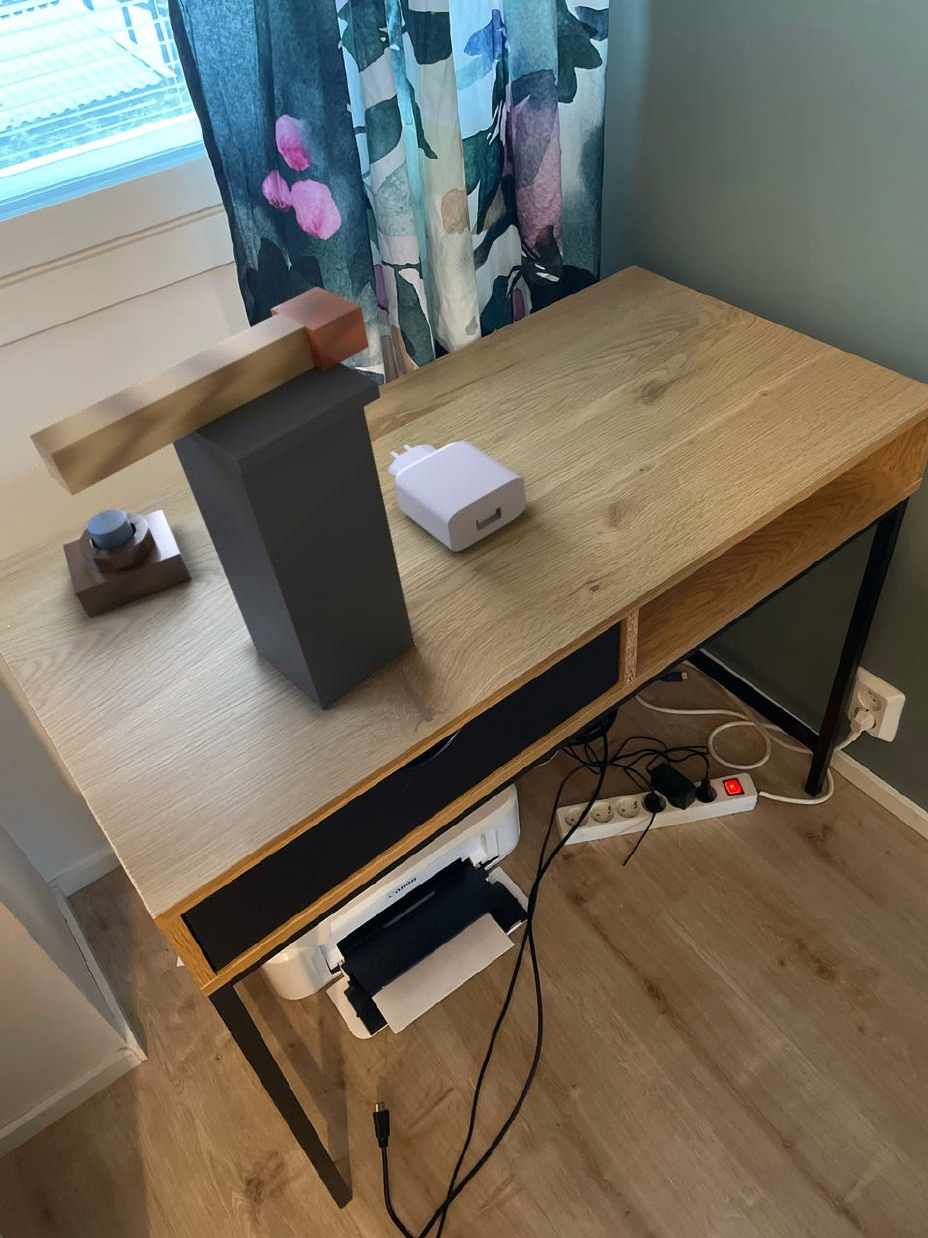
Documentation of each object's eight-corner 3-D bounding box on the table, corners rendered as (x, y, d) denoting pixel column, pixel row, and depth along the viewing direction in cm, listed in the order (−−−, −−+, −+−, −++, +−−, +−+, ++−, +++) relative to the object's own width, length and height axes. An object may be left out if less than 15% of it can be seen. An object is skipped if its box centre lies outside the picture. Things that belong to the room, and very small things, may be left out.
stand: (329, 724, 72) (237, 460, 54) (241, 645, 80) (135, 389, 61) (430, 648, 77) (377, 381, 58) (339, 580, 84) (267, 323, 66)
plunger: (99, 555, 83) (90, 539, 82) (93, 534, 86) (84, 517, 84) (137, 541, 84) (129, 525, 83) (130, 521, 86) (121, 504, 85)
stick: (80, 503, 52) (58, 461, 50) (44, 470, 55) (22, 429, 53) (369, 347, 62) (361, 306, 60) (326, 325, 65) (317, 286, 62)
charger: (436, 450, 97) (526, 512, 88) (366, 487, 94) (452, 556, 85) (430, 412, 94) (523, 473, 85) (357, 450, 91) (447, 517, 82)
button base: (88, 617, 84) (66, 579, 81) (76, 568, 90) (54, 530, 86) (191, 578, 87) (174, 539, 83) (173, 533, 92) (156, 494, 88)
